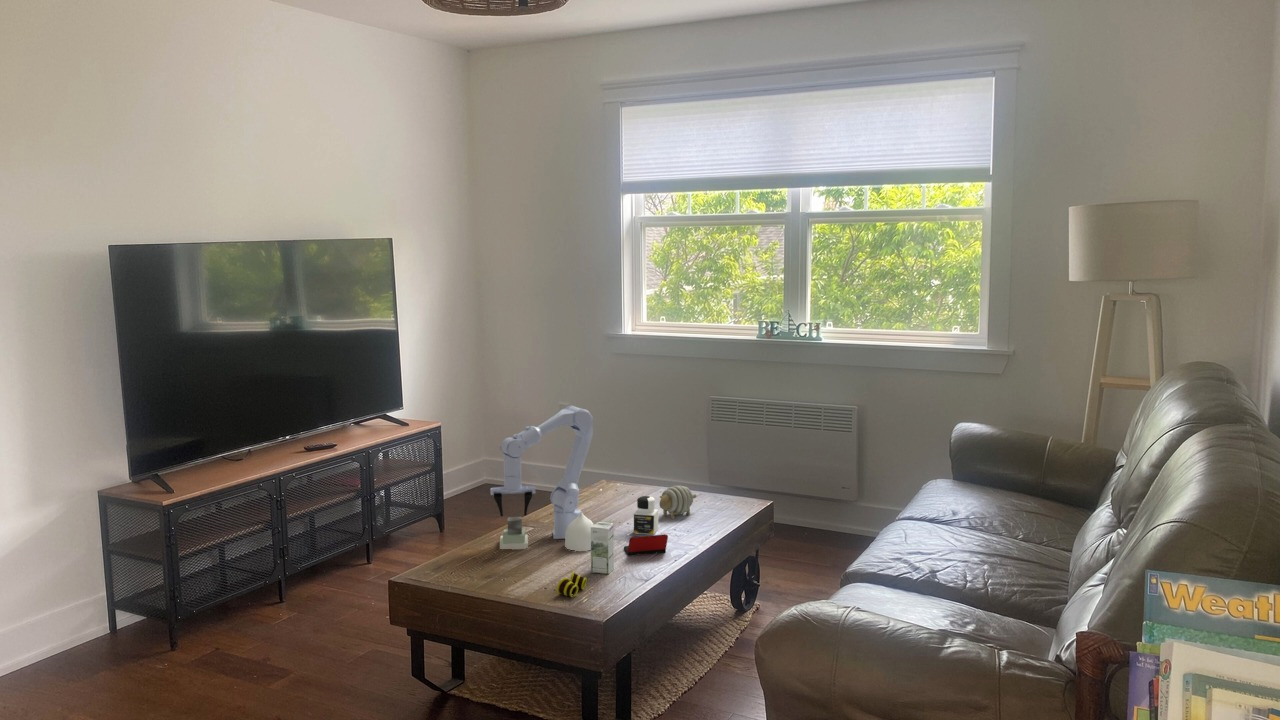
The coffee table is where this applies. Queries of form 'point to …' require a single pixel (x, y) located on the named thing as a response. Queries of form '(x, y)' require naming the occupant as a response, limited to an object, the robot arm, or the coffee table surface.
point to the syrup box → (602, 547)
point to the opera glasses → (571, 585)
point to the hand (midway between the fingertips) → (513, 515)
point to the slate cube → (514, 525)
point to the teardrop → (579, 534)
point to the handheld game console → (646, 545)
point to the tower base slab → (514, 544)
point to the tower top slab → (513, 537)
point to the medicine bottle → (646, 516)
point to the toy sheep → (676, 500)
